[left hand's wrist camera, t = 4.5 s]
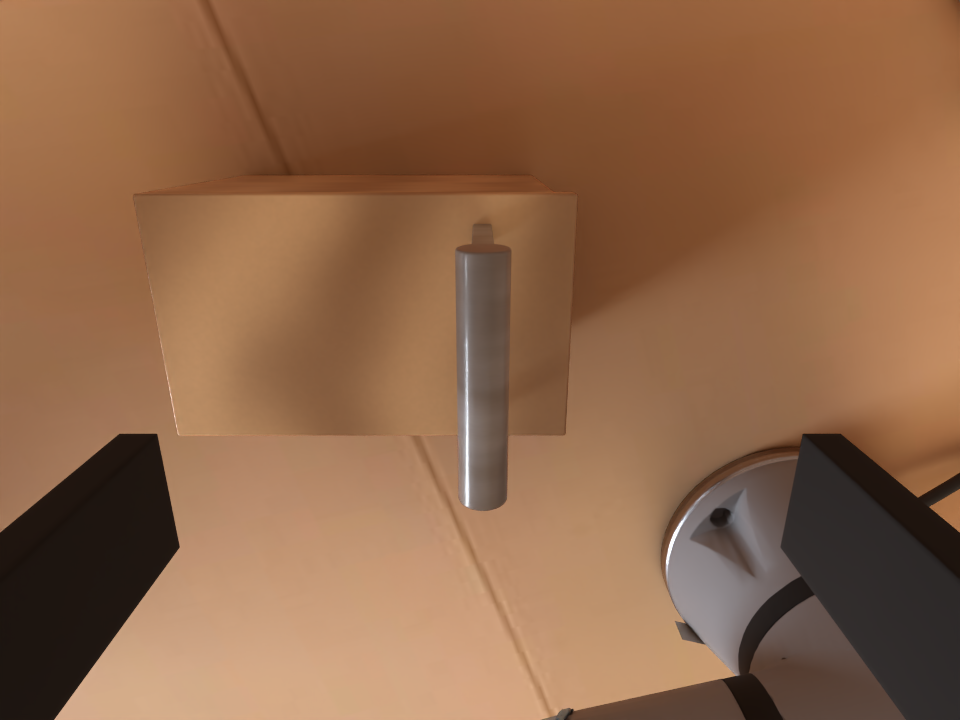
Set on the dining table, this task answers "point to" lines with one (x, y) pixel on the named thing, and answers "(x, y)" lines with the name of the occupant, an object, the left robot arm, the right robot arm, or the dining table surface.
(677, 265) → the dining table surface
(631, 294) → the dining table surface
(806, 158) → the dining table surface
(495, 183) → the chest
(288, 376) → the lid
